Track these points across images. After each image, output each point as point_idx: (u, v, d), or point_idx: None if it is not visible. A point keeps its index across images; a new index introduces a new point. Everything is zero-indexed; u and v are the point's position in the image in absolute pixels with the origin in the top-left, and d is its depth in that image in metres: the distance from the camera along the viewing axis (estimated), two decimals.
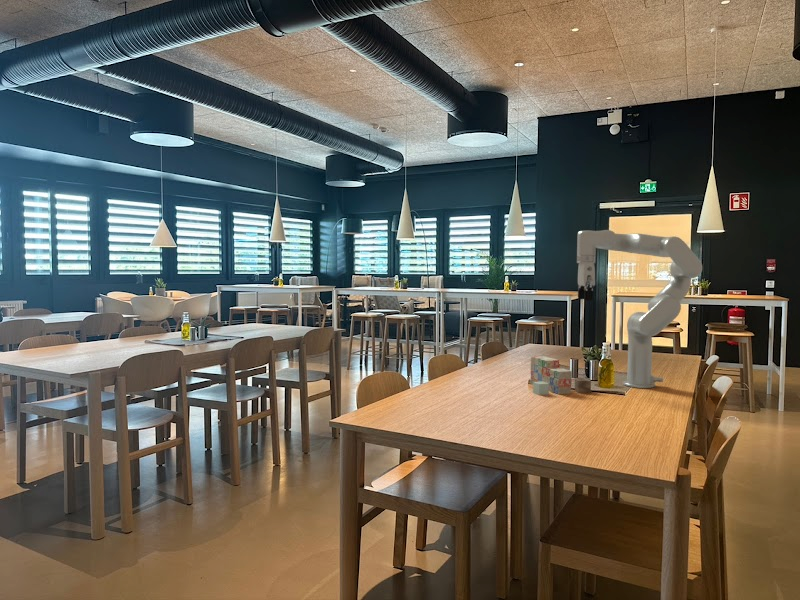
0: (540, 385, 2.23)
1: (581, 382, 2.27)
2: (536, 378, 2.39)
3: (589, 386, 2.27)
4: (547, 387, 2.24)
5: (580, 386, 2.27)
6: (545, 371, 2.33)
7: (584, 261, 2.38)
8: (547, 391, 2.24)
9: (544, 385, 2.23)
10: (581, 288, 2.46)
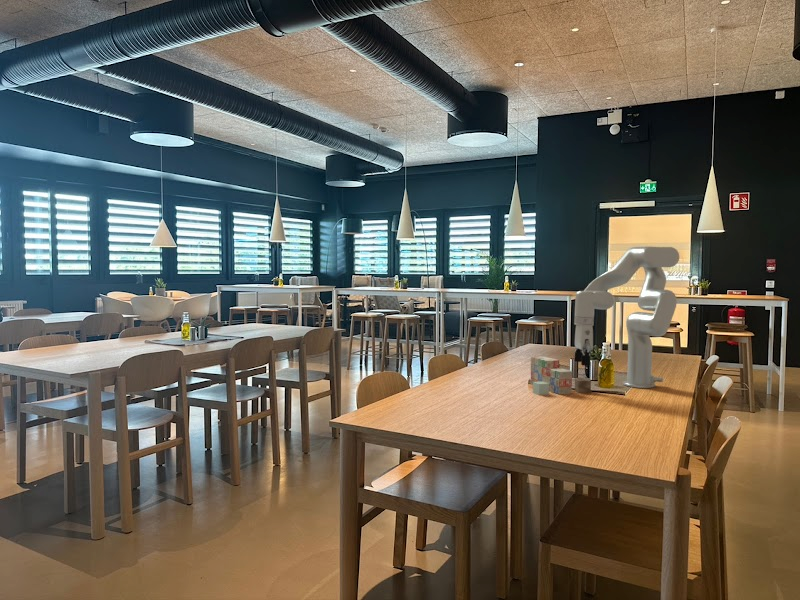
0: (540, 385, 2.23)
1: (581, 382, 2.27)
2: (536, 378, 2.39)
3: (589, 386, 2.27)
4: (547, 387, 2.24)
5: (580, 386, 2.27)
6: (545, 371, 2.33)
7: (582, 324, 2.25)
8: (547, 391, 2.24)
9: (544, 385, 2.23)
10: (578, 350, 2.34)
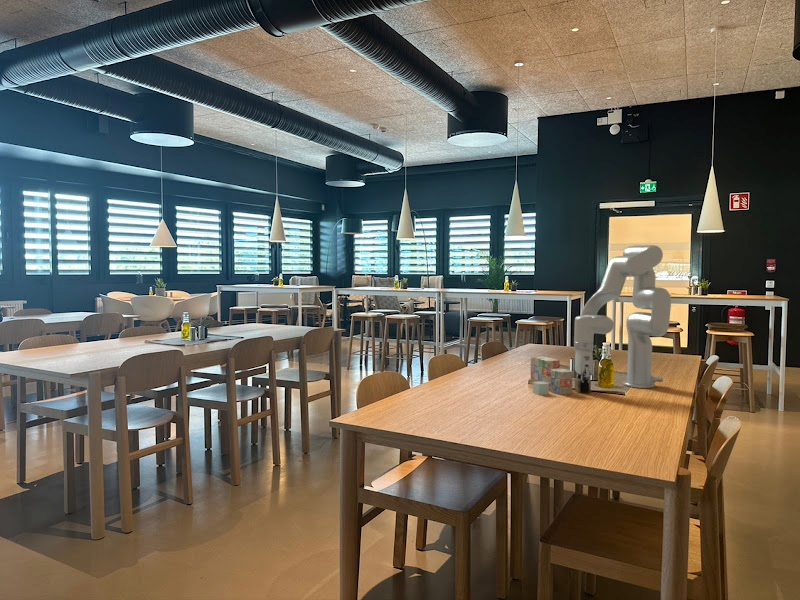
0: (540, 385, 2.23)
1: None
2: (536, 378, 2.39)
3: (589, 386, 2.27)
4: (547, 387, 2.24)
5: None
6: (546, 371, 2.33)
7: (581, 349, 2.26)
8: (547, 391, 2.24)
9: (544, 385, 2.23)
10: (580, 377, 2.33)
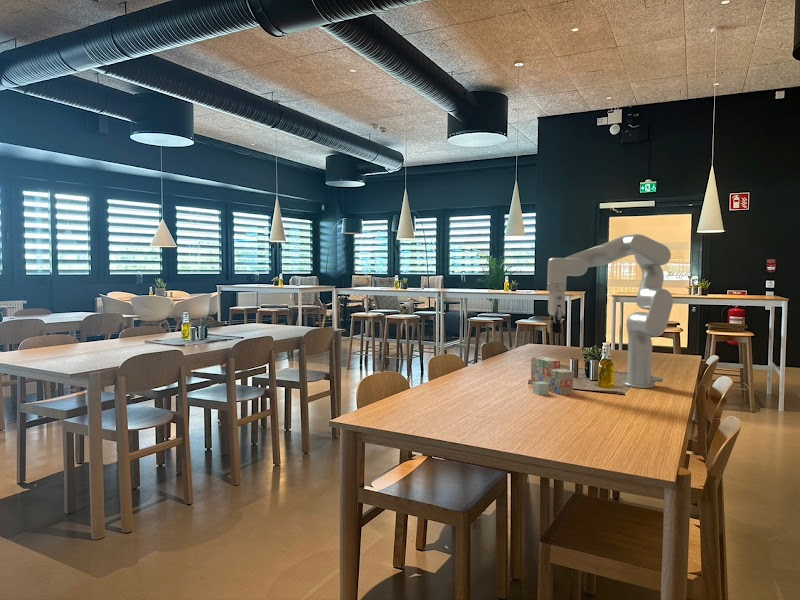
0: (540, 385, 2.23)
1: (553, 322, 2.30)
2: (537, 378, 2.38)
3: (561, 326, 2.30)
4: (547, 387, 2.24)
5: (552, 326, 2.30)
6: (546, 371, 2.32)
7: (554, 290, 2.28)
8: (547, 391, 2.24)
9: (544, 385, 2.23)
10: (552, 319, 2.35)
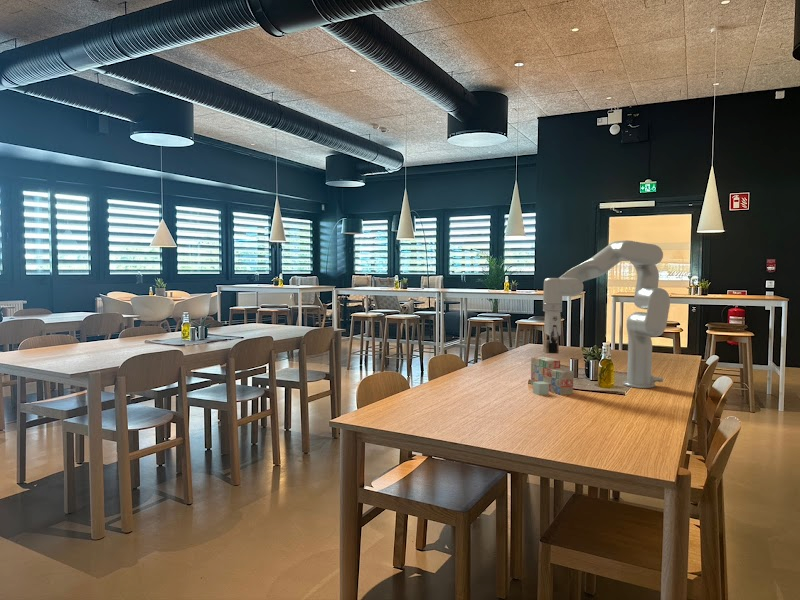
0: (540, 385, 2.23)
1: (549, 342, 2.31)
2: (537, 378, 2.38)
3: (557, 346, 2.31)
4: (547, 387, 2.24)
5: (548, 346, 2.31)
6: (546, 372, 2.32)
7: (550, 310, 2.29)
8: (547, 391, 2.24)
9: (544, 385, 2.23)
10: (549, 339, 2.36)
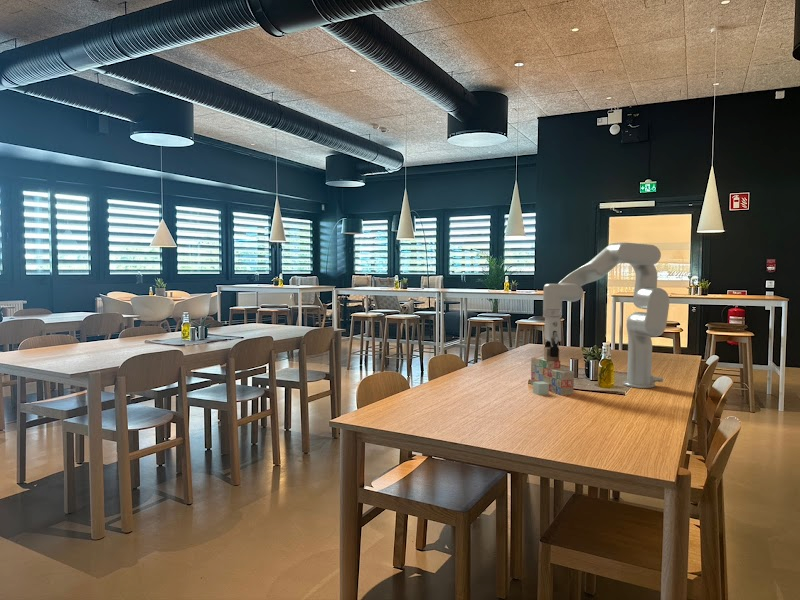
0: (540, 385, 2.23)
1: None
2: (537, 379, 2.38)
3: None
4: (547, 387, 2.24)
5: (548, 354, 2.31)
6: (547, 372, 2.32)
7: (550, 316, 2.29)
8: (547, 391, 2.24)
9: (544, 385, 2.23)
10: (548, 342, 2.38)
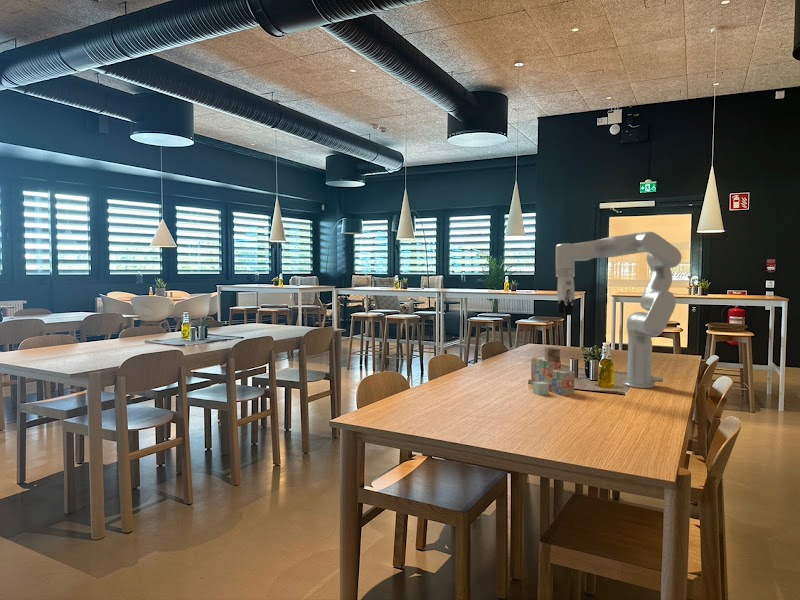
0: (540, 385, 2.23)
1: (550, 350, 2.30)
2: (537, 379, 2.37)
3: (558, 354, 2.30)
4: (547, 387, 2.24)
5: (549, 354, 2.31)
6: (547, 372, 2.31)
7: (563, 275, 2.32)
8: (547, 391, 2.24)
9: (544, 385, 2.23)
10: (561, 302, 2.41)
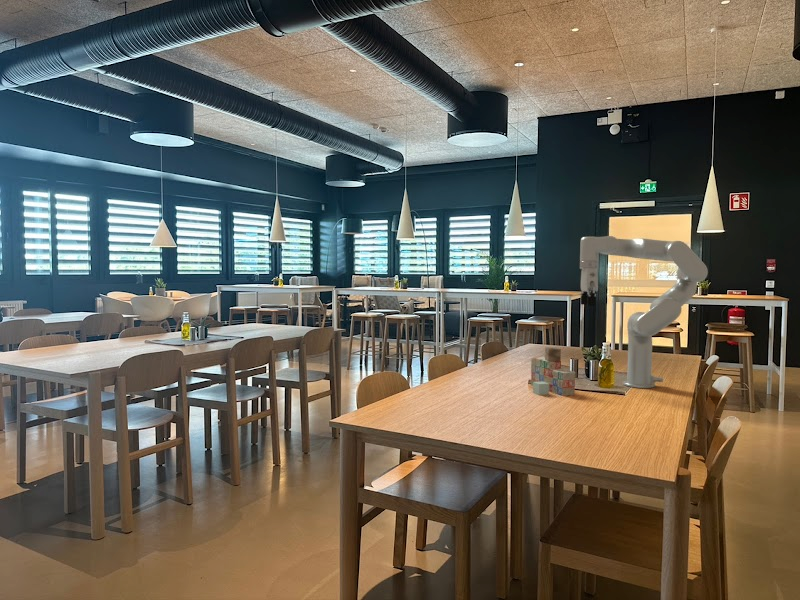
0: (540, 385, 2.23)
1: (551, 350, 2.30)
2: (537, 379, 2.37)
3: (559, 354, 2.30)
4: (547, 387, 2.24)
5: (550, 354, 2.30)
6: (547, 372, 2.31)
7: (587, 267, 2.40)
8: (547, 391, 2.24)
9: (544, 385, 2.23)
10: (584, 293, 2.48)
